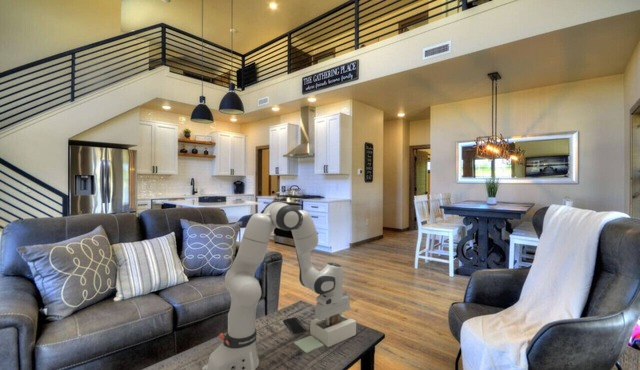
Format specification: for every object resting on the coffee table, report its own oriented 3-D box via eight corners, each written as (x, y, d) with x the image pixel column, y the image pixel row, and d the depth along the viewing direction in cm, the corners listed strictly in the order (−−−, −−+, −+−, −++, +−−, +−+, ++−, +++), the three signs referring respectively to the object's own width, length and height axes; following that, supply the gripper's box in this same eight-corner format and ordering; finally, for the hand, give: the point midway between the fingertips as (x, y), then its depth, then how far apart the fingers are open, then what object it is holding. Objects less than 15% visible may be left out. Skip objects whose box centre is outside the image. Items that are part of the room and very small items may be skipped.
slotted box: (328, 347, 139) (328, 332, 139) (310, 334, 150) (310, 320, 150) (355, 334, 150) (356, 321, 150) (337, 323, 161) (337, 310, 161)
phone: (295, 316, 166) (307, 329, 153) (295, 318, 166) (307, 332, 153) (282, 319, 163) (293, 333, 149) (282, 322, 163) (293, 335, 149)
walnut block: (332, 330, 147) (332, 316, 147) (327, 327, 150) (327, 313, 150) (338, 328, 150) (338, 314, 150) (333, 324, 153) (333, 311, 153)
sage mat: (306, 353, 134) (306, 352, 134) (293, 343, 142) (293, 342, 142) (323, 345, 140) (323, 344, 140) (310, 336, 148) (310, 335, 148)
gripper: (344, 289, 158) (343, 314, 159) (313, 298, 146) (312, 326, 146) (353, 293, 153) (352, 319, 154) (321, 302, 141) (320, 332, 141)
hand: (332, 323), depth 150 cm, fingers closed on walnut block, 4 cm apart
